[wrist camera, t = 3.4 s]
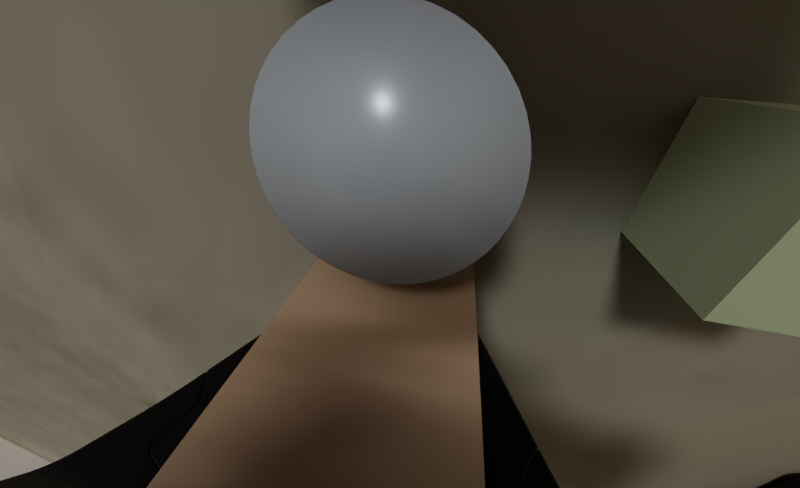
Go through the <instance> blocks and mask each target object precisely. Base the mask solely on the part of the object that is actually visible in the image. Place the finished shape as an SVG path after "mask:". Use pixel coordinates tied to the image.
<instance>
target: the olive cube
mask: <svg viewBox="0 0 800 488" xmlns="http://www.w3.org/2000/svg"><path fill="white" fill-rule="evenodd" d="M621 232H622V233H623V234H624V236H625V237H626V238H627V239H628V240H629V241H630V242H631V243H632V244H633V245H634V246H635V247H636V248H637V250H638V251H639V252H640V253H641V254H642V255H643V256H644V257H645V258H646V259H647V260H648V261H649V263H650V264H651V265H652V266H653V267H654V268H655V269H656V270H657V271H658V272H659V273H660V274H661V275H662V277H663V278H664V279H665V280H666V281H667V282H668V283H669V284H670V285H671V286H672V287H673V288H674V290H675V291H676V292H677V293H678V294H679V295H680V296H681V297H682V298H683V299H684V300H685V301H686V302H687V304H688V305H689V306H690V307H691V308H692V309H693V310H694V311H695V312H696V313H697V314H698V315H699V317H700V318H701V319H702V320H704V321H710V322H716V323H722V324H728V325H733V326H739V327H745V328H751V329H757V330H763V331H768V332H774V333H780V334H786V335H792V336H797V337H800V105H795V104H783V103H771V102H759V101H747V100H735V99H723V98H711V97H698V99H697V101H696V102H695V104H694V106H693V108H692V109H691V111H690V113H689V114H688V116H687V118H686V120H685V121H684V123H683V125H682V127H681V128H680V130H679V132H678V134H677V135H676V137H675V139H674V140H673V142H672V144H671V146H670V147H669V149H668V151H667V153H666V154H665V156H664V158H663V159H662V161H661V163H660V165H659V166H658V168H657V170H656V172H655V173H654V175H653V177H652V179H651V180H650V182H649V184H648V185H647V187H646V189H645V191H644V192H643V194H642V196H641V198H640V199H639V201H638V203H637V204H636V206H635V208H634V210H633V211H632V213H631V215H630V217H629V218H628V220H627V222H626V224H625V225H624V227H623V229H622V230H621Z"/></svg>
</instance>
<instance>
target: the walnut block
mask: <svg viewBox="0 0 800 488" xmlns="http://www.w3.org/2000/svg"><path fill="white" fill-rule="evenodd" d="M147 488H485V474H484V454H483V434H482V415H481V395H480V375H479V355H478V336H477V316H476V296H475V276H474V263H472V264H471V265H469V266H467V267H466V268H464V269H462V270H460V271H458V272H456V273H454V274H452V275H449V276H447V277H443V278H440V279H437V280H434V281H429V282H424V283H416V284H387V283H379V282H374V281H370V280H365V279H362V278H359V277H356V276H353V275H350V274H348V273H345V272H343V271H341V270H339V269H337V268H335V267H333V266H331V265H329V264H328V263H326V262H324V261H323V260H321V259H320V258H318V259H317V260H316V262H315V263H314V265H313V266H312V267H311V269H310V270H309V271H308V273H307V274H306V275H305V277H304V278H303V279H302V281H301V282H300V283H299V285H298V286H297V287H296V289H295V290H294V291H293V293H292V294H291V295H290V297H289V298H288V299H287V301H286V302H285V303H284V305H283V306H282V307H281V309H280V310H279V311H278V313H277V314H276V315H275V317H274V318H273V319H272V321H271V322H270V323H269V325H268V326H267V327H266V329H265V330H264V331H263V333H262V334H261V335H260V337H259V338H258V339H257V341H256V342H255V343H254V345H253V346H252V347H251V349H250V350H249V351H248V353H247V354H246V355H245V357H244V358H243V359H242V361H241V362H240V363H239V365H238V366H237V367H236V369H235V370H234V371H233V373H232V374H231V375H230V377H229V378H228V379H227V381H226V382H225V383H224V385H223V386H222V387H221V389H220V390H219V391H218V393H217V394H216V395H215V397H214V398H213V399H212V401H211V402H210V403H209V405H208V406H207V407H206V409H205V410H204V411H203V413H202V414H201V415H200V417H199V418H198V419H197V421H196V422H195V423H194V425H193V426H192V427H191V429H190V430H189V432H188V433H187V434H186V436H185V437H184V438H183V440H182V441H181V442H180V444H179V445H178V446H177V448H176V449H175V450H174V452H173V453H172V454H171V456H170V457H169V458H168V460H167V461H166V462H165V464H164V465H163V466H162V468H161V469H160V470H159V472H158V473H157V474H156V476H155V477H154V478H153V480H152V481H151V482H150V484H149V485H148V486H147Z"/></svg>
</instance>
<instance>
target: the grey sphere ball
mask: <svg viewBox="0 0 800 488" xmlns="http://www.w3.org/2000/svg"><path fill="white" fill-rule="evenodd" d="M249 135H250V147H251V153H252V159H253V163H254V166H255V170H256V173H257V177H258V180H259V182H260V184H261V187H262V189H263V192H264V194H265V196H266V198H267V200H268V202H269V203H270V205H271V207H272V209H273V210H274V212H275V213H276V215H277V216H278V218H279V219H280V221H281V222H282V223H283V224H284V226H285V227H286V228H287V229H288V231H289V232H290V233H291V234H292V235H293V236H294V237H295V238H296V239H297V240H298V241H299V242H300V243H301V244H302V245H303V246H304V247H306V248H307V249H308V250H309V251H310V252H311V253H313V254H314V255H316V256H317V257H318V258H320V259H321V260H323V261H324V262H326V263H328V264H329V265H331V266H333V267H335V268H337V269H339V270H341V271H343V272H345V273H348V274H350V275H353V276H356V277H359V278H362V279H365V280H370V281H374V282H379V283H387V284H416V283H424V282H429V281H434V280H437V279H440V278H443V277H447V276H449V275H452V274H454V273H456V272H458V271H460V270H462V269H464V268H466V267H467V266H469V265H471V264H472V263H474V262H476V261H477V260H478V259H479V258H481V257H482V256H483V255H484V254H486V253H487V252H488V251H489V250H490V249H491V248H492V247H493V246H494V245H495V244H496V243H497V242H498V241H499V240H500V238H501V237H502V236H503V234H504V233H505V232H506V230H507V229H508V228H509V226H510V225H511V223H512V221H513V219H514V217H515V216H516V214H517V212H518V210H519V207H520V205H521V202H522V200H523V197H524V195H525V191H526V187H527V183H528V179H529V174H530V164H531V133H530V128H529V122H528V117H527V112H526V109H525V106H524V103H523V100H522V97H521V94H520V91H519V88H518V86H517V84H516V82H515V81H514V79H513V77H512V75H511V73H510V71H509V69H508V67H507V66H506V64H505V63H504V62H503V60H502V59H501V57H500V56H499V55H498V53H497V52H496V50H495V49H494V48H493V47H492V46H491V45H490V44H489V43H488V42H487V41H486V40H485V39H484V37H483V36H482V35H481V34H480V33H479V32H478V31H477V30H476V29H474V28H473V27H472V26H470V25H469V24H467V23H466V22H465V21H463V20H462V19H461V18H459V17H458V16H457V15H455V14H453V13H451V12H449V11H447V10H445V9H443V8H442V7H440V6H438V5H436V4H434V3H431V2H428V1H425V0H334V1H331V2H329V3H327V4H324V5H322V6H320V7H317V8H316V9H314V10H313V11H311V12H310V13H308V14H307V15H305V16H304V17H302V18H301V19H299V20H298V21H297V22H296V23H295V24H294V25H293V26H291V27H290V28H289V29H288V30H287V31H286V32H285V33H284V34H283V35H282V36H281V38H280V39H279V40H278V42H277V43H276V44H275V46H274V47H273V48H272V50H271V51H270V53H269V55H268V57H267V58H266V60H265V62H264V64H263V66H262V68H261V70H260V73H259V76H258V78H257V81H256V84H255V87H254V91H253V96H252V101H251V106H250V118H249Z"/></svg>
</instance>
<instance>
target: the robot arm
mask: <svg viewBox="0 0 800 488" xmlns="http://www.w3.org/2000/svg"><path fill="white" fill-rule="evenodd" d="M477 336H478V355H479V375H480V395H481V415H482V434H483V454H484V474H485V488H560V487H559V485H558V483H557V482H556V480H555V478H554V476H553V474H552V473H551V471H550V469H549V467H548V465H547V463H546V461H545V460H544V458H543V456H542V454H541V452H540V450H537V448H538V447H537V444H536V443H535V441H534V439H533V437H532V435H531V433H530V431H529V429H528V427H527V425H526V424H525V422H524V420H523V418H522V416H521V414H520V412H519V410H518V408H517V406H516V405H515V403H514V401H513V399H512V397H511V395H510V393H509V391H508V389H507V387H506V386H505V384H504V382H503V380H502V378H501V376H500V374H499V372H498V370H497V368H496V367H495V365H494V363H493V361H492V359H491V357H490V355H489V353H488V351H487V349H486V348H485V346H484V344H483V342H482V340H481V338H480V336H479V334H478V332H477ZM259 337H260V335H259V336H258V337H256V338H255V339H253V340H252V341H250V342H249V343H247V344H246V345H244V346H243V347H241V348H240V349H238V350H237V351H236V352H234V353H233V354H231V355H230V356H228V357H227V358H225V359H224V360H222V361H221V362H219V363H218V364H216V365H215V366H213V367H212V368H210V369H209V370H208V371H207V373H206V372H205V373H203V374H201V375H200V376H199V377H197V378H196V379H194V380H193V381H191V382H190V383H188V384H187V385H185V386H184V387H182V388H180V389H179V390H177V391H176V392H174V393H173V394H171V395H170V396H168V397H167V398H165V399H163V400H162V401H160V402H158V403H157V404H155V405H153V406H152V407H150V408H148V409H147V410H145V411H144V412H142V413H140V414H138V415H137V416H135V417H133V418H132V419H130V420H128V421H127V422H125V423H123V424H121V425H120V426H118V427H116V428H115V429H113V430H111V431H109V432H108V433H106V434H104V435H103V436H101V437H99V438H98V439H96V440H94V441H92V442H91V443H89V444H87V445H86V446H84V447H82V448H81V449H79V450H77V451H75V452H73V453H72V454H70V455H68V456H66V457H64V458H62V459H60V460H58V461H55V462H53V463H51V464H49V465H46V466H44V467H41V468H39V469H36V470H33V471H31V472H28V473H25V474H21V475H18V476H15V477H11V478H9V479H5V480H2V481H0V488H147V486H148V485H149V484H150V482H151V481H152V480H153V478H154V477H155V476H156V474H157V473H158V472H159V470H160V469H161V468H162V466H163V465H164V464H165V462H166V461H167V460H168V458H169V457H170V456H171V454H172V453H173V452H174V450H175V449H176V448H177V446H178V445H179V444H180V442H181V441H182V440H183V438H184V437H185V436H186V434H187V433H188V432H189V430H190V429H191V427H192V426H193V425H194V423H195V422H196V421H197V419H198V418H199V417H200V415H201V414H202V413H203V411H204V410H205V409H206V407H207V406H208V405H209V403H210V402H211V401H212V399H213V398H214V397H215V395H216V394H217V393H218V391H219V390H220V389H221V387H222V386H223V385H224V383H225V382H226V381H227V379H228V378H229V377H230V375H231V374H232V373H233V371H234V370H235V369H236V367H237V366H238V365H239V363H240V362H241V361H242V359H243V358H244V357H245V355H246V354H247V353H248V351H249V350H250V349H251V347H252V346H253V345H254V343H255V342H256V341H257V339H258V338H259ZM772 488H800V477H798V478H793V479H790V480H788V481H785V482H783V483H781V484H779V485H777V486H774V487H772Z"/></svg>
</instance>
